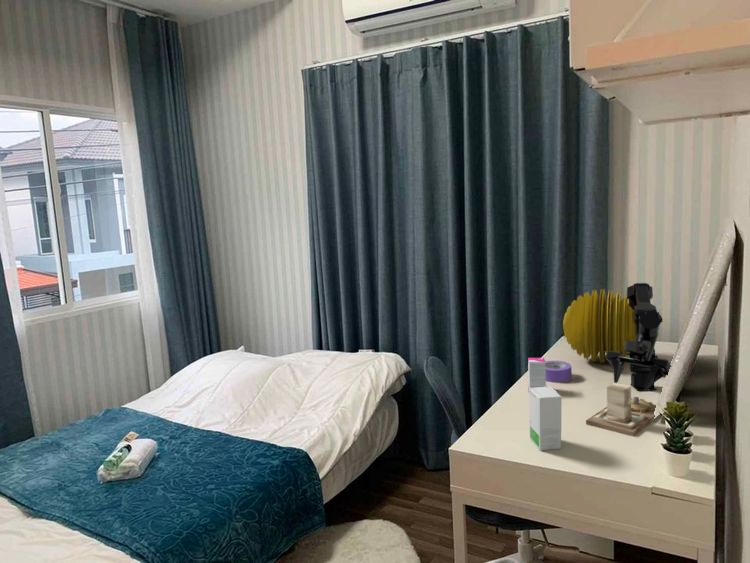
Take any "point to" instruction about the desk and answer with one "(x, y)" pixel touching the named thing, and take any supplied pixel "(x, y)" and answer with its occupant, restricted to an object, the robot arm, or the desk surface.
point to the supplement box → (536, 372)
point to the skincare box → (545, 418)
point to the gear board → (640, 419)
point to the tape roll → (558, 371)
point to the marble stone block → (619, 403)
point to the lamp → (599, 325)
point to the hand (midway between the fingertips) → (629, 386)
